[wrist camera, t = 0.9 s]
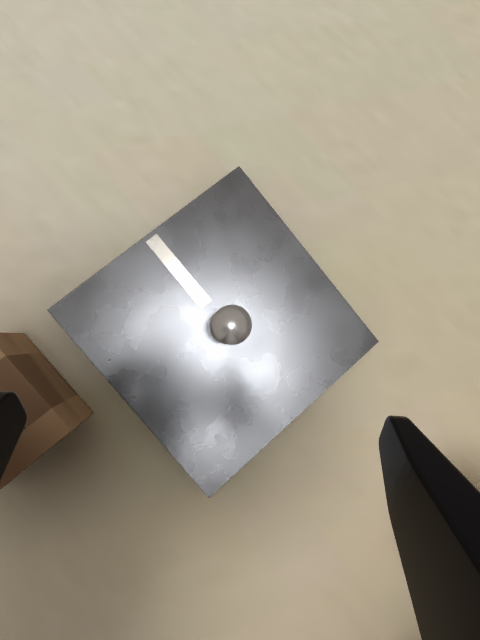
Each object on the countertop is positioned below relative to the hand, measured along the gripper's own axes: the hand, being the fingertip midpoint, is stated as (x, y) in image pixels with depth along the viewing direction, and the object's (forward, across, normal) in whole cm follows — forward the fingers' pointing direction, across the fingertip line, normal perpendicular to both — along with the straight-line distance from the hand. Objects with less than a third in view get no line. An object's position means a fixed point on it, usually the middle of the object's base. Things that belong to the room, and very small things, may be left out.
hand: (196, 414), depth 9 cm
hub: (+12, +1, +6) cm, 13 cm away
